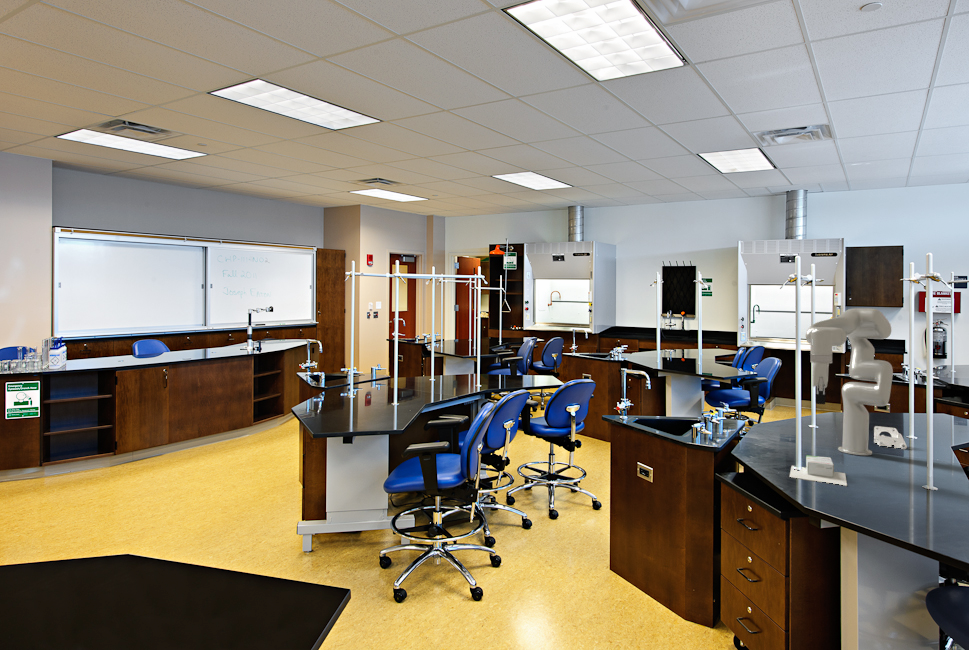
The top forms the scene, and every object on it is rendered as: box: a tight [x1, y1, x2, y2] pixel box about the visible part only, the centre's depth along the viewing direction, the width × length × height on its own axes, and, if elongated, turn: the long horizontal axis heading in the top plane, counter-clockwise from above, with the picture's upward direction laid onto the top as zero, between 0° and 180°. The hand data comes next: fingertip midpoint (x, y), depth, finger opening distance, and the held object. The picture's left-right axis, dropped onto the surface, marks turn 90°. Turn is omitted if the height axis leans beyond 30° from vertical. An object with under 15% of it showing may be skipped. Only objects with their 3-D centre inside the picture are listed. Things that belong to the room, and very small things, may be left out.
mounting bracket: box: [873, 425, 908, 450], centre depth 254 cm, size 12×6×11 cm, turn 57°
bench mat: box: [789, 465, 848, 487], centre depth 205 cm, size 18×18×1 cm
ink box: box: [805, 454, 835, 477], centre depth 208 cm, size 9×5×12 cm
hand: (820, 403), depth 218 cm, fingers closed
